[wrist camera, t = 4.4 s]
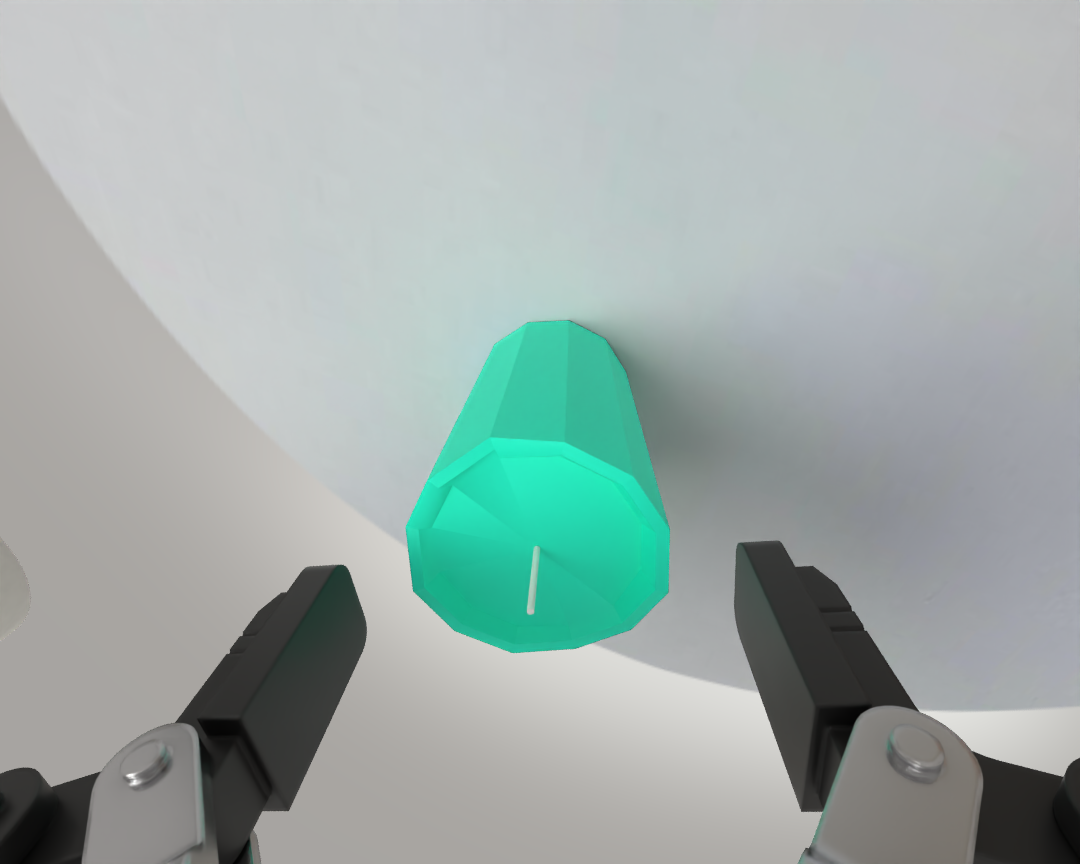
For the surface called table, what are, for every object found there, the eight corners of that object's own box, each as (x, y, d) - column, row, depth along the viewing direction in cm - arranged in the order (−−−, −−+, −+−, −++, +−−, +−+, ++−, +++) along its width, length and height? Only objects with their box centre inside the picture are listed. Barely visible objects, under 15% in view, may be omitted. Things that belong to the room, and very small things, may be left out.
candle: (646, 336, 20) (732, 516, 9) (607, 472, 23) (637, 738, 12) (490, 303, 20) (390, 446, 9) (468, 444, 22) (369, 687, 12)
